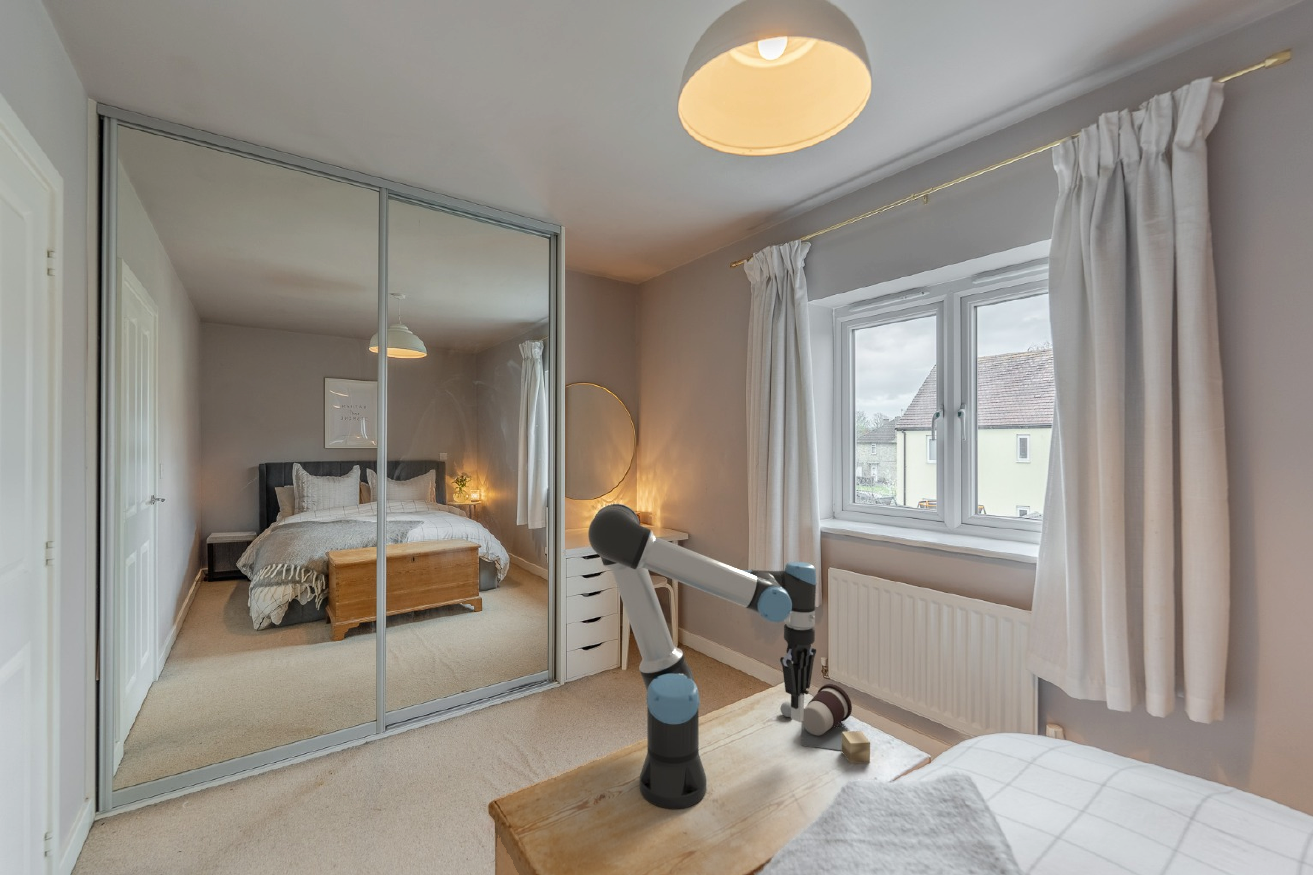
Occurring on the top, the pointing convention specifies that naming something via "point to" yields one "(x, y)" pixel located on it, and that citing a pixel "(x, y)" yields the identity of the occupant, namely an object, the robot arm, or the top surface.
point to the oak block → (855, 747)
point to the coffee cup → (826, 709)
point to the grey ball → (786, 709)
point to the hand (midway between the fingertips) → (797, 719)
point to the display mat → (824, 738)
